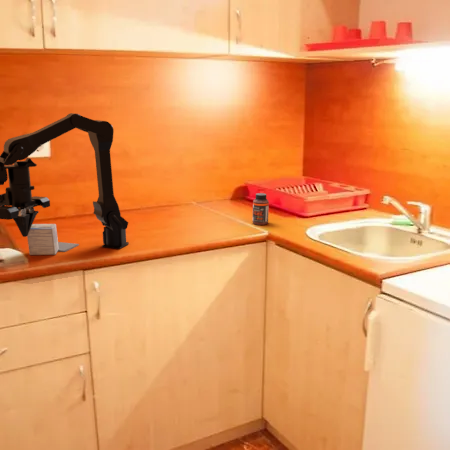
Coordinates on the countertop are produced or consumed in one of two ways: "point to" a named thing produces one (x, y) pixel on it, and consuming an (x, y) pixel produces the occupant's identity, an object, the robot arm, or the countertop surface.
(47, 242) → the medicine box
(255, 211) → the supplement bottle
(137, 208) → the countertop surface
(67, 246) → the mat
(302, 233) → the countertop surface
